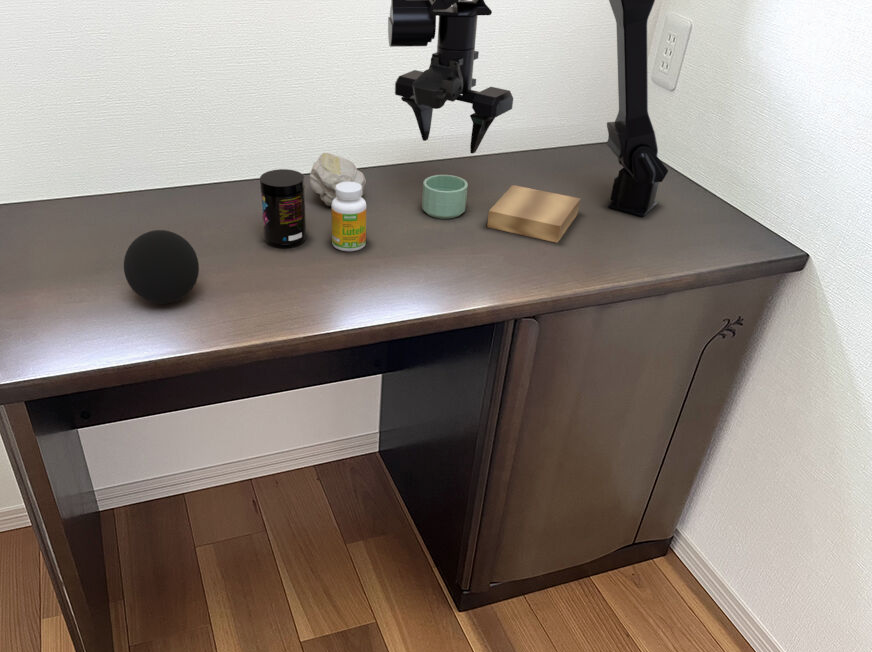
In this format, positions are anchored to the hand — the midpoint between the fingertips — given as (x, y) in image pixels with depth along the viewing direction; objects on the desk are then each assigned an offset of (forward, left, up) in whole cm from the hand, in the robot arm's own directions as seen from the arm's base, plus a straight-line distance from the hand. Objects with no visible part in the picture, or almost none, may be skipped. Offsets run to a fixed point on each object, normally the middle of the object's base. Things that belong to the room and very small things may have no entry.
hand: (448, 146), depth 130 cm
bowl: (0, 0, -11) cm, 11 cm away
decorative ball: (+15, +49, -12) cm, 53 cm away
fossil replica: (+17, +8, -12) cm, 22 cm away
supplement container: (+14, +25, -12) cm, 31 cm away
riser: (-14, -6, -11) cm, 19 cm away
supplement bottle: (+5, +20, -12) cm, 24 cm away
